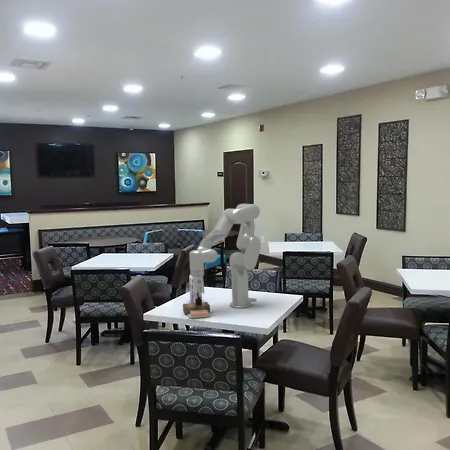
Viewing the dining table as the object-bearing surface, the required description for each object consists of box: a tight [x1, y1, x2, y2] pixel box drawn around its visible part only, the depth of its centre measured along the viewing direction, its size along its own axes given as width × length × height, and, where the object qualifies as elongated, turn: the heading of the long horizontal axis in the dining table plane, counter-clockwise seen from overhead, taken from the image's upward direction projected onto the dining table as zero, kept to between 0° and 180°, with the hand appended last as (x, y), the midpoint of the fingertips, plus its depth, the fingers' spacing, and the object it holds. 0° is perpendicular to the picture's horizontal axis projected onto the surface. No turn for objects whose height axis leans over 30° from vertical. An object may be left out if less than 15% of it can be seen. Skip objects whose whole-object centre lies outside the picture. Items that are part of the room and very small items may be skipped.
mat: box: [186, 312, 212, 320], centre depth 258 cm, size 12×8×1 cm, turn 103°
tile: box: [190, 310, 209, 319], centre depth 255 cm, size 9×6×2 cm, turn 102°
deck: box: [182, 301, 211, 316], centre depth 266 cm, size 14×9×4 cm, turn 103°
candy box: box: [188, 274, 203, 303], centre depth 285 cm, size 14×6×16 cm, turn 11°
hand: (198, 305), depth 260 cm, fingers closed
